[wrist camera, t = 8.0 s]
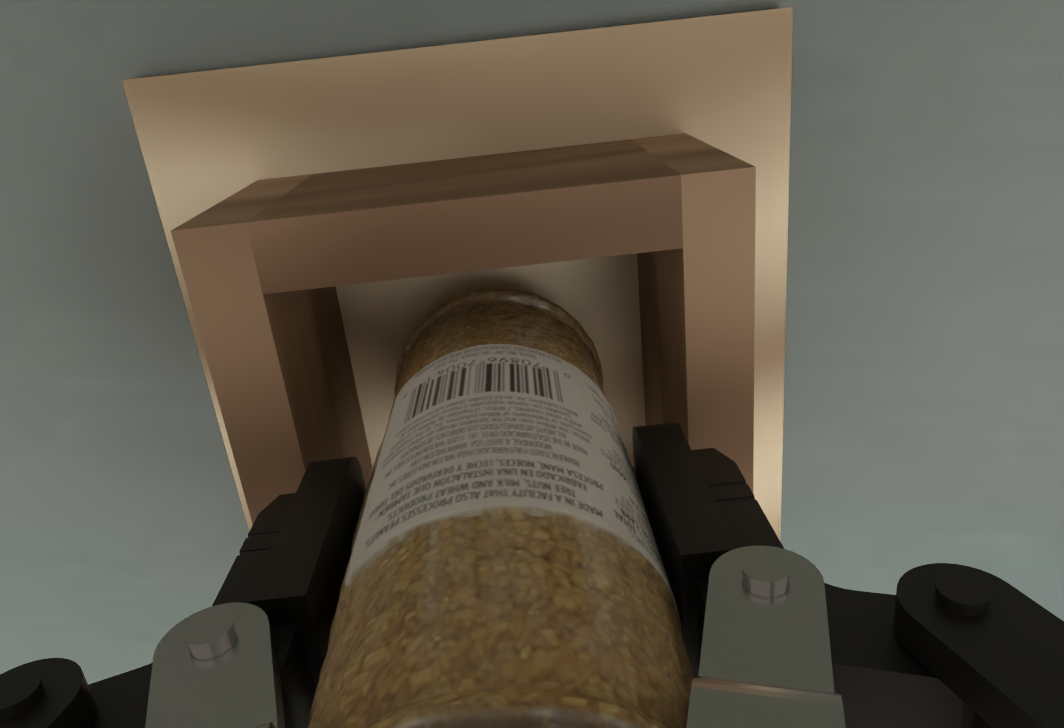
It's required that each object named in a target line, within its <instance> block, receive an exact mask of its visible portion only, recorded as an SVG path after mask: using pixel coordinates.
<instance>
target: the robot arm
mask: <svg viewBox="0 0 1064 728" xmlns="http://www.w3.org/2000/svg"><path fill="white" fill-rule="evenodd" d="M632 440H633V458H634V474H635V477H636V480H637V483H638V487H639V490H640V493H641V497H642V500H643V503H644V506H645V509H646V512H647V516H648V519H649V522H650V525H651V528H652V532H653V535H654V538H655V541H656V544H657V547H658V550H659V553H660V556H661V559H662V562H663V565H664V568H665V571H666V574H667V577H668V580H669V583H670V586H671V589H672V592H673V595H674V598H675V602H676V606H677V609H678V613H679V617H680V622H681V628H682V639H683V643H684V646H685V649H686V652H687V655H688V658H689V661H690V664H691V666H692V669H693V672H694V676H693V680H692V685H691V692H690V701H689V709H688V718H687V727H686V728H1064V621H1062V620H1061V619H1059V618H1058V617H1056V616H1055V615H1053V614H1052V613H1050V612H1049V611H1048V610H1046V609H1045V608H1043V607H1042V606H1040V605H1039V604H1037V603H1036V602H1034V601H1033V600H1032V599H1030V598H1029V597H1027V596H1026V595H1024V594H1023V593H1021V592H1020V591H1019V590H1017V589H1016V588H1014V587H1013V586H1011V585H1010V584H1008V583H1007V582H1005V581H1003V580H1002V579H1000V578H998V577H996V576H994V575H992V574H990V573H987V572H985V571H982V570H979V569H976V568H972V567H968V566H963V565H958V564H948V563H935V564H927V565H922V566H918V567H916V568H913V569H911V570H909V571H908V572H906V573H905V574H904V575H903V576H902V577H901V578H900V580H899V582H898V584H897V592H896V595H889V594H880V593H871V592H862V591H854V590H848V589H843V588H839V587H835V586H832V585H829V584H826V583H824V580H823V577H822V575H821V573H820V571H819V570H818V569H817V568H816V566H815V565H814V564H812V563H811V562H810V561H809V560H807V559H806V558H804V557H803V556H801V555H799V554H797V553H794V552H792V551H789V550H786V549H784V547H783V545H782V544H781V542H780V540H779V538H778V537H777V535H776V533H775V531H774V530H773V528H772V526H771V524H770V522H769V521H768V519H767V517H766V515H765V514H764V512H763V510H762V508H761V507H760V505H759V503H758V501H757V500H755V497H754V494H753V492H752V491H751V489H750V487H749V485H748V484H746V480H745V478H744V477H743V475H742V473H741V471H740V469H739V468H738V466H737V464H736V462H734V461H733V460H731V459H730V458H728V457H727V456H725V455H724V454H722V453H721V452H719V451H718V450H716V449H715V448H707V449H698V450H691V448H690V446H689V444H688V442H687V440H686V438H685V436H684V433H683V431H682V429H681V427H680V425H679V423H678V422H673V423H664V424H655V425H646V426H637V427H633V432H632ZM365 492H366V487H365V482H364V478H363V473H362V469H361V465H360V463H359V460H358V459H357V458H356V457H348V458H339V459H330V460H320V461H312V462H310V463H309V465H308V467H307V469H306V471H305V473H304V476H303V478H302V480H301V482H300V485H299V487H298V489H297V492H296V493H290V494H280V495H279V496H278V497H277V498H276V499H274V500H273V501H272V502H271V503H270V504H269V505H268V506H267V507H265V508H264V509H263V510H262V511H261V512H260V513H259V514H258V516H257V518H256V520H255V522H254V524H253V526H252V528H251V530H250V532H249V533H248V538H246V539H245V541H244V543H243V545H242V547H241V549H240V555H239V556H237V557H236V559H235V561H234V563H233V565H232V567H231V569H230V571H229V573H228V575H227V577H226V579H225V581H224V583H223V585H222V587H221V589H220V591H219V593H218V595H217V597H216V599H215V601H214V603H213V605H212V607H209V608H206V609H203V610H201V611H199V612H197V613H194V614H192V615H191V616H189V617H187V618H185V619H184V620H182V621H181V622H179V623H178V624H176V625H175V626H174V627H173V628H172V629H171V630H169V631H168V632H167V634H166V635H165V636H164V637H163V638H162V639H161V641H160V642H159V644H158V645H157V647H156V649H155V652H154V656H153V663H151V664H148V665H146V666H143V667H140V668H138V669H135V670H132V671H129V672H126V673H123V674H120V675H116V676H113V677H110V678H107V679H104V680H101V681H98V682H95V683H92V684H89V685H88V684H87V681H86V679H85V677H84V674H83V672H82V670H81V668H80V666H79V665H78V664H77V663H76V662H73V661H71V660H68V659H64V658H49V659H42V660H37V661H33V662H30V663H26V664H23V665H21V666H18V667H16V668H13V669H11V670H9V671H7V672H5V673H3V674H1V675H0V728H308V726H309V714H310V710H311V707H312V703H313V700H314V695H315V691H316V688H317V685H318V682H319V677H320V671H321V668H322V665H323V663H324V660H325V658H326V654H327V651H328V642H329V635H330V628H331V625H332V622H333V619H334V616H335V613H336V609H337V604H338V601H339V596H340V589H341V586H342V583H343V580H344V577H345V572H346V568H347V566H348V563H349V560H350V556H351V548H352V540H353V536H354V532H355V529H356V525H357V522H358V519H359V515H360V511H361V508H362V504H363V500H364V496H365Z"/></svg>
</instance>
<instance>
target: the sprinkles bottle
mask: <svg viewBox="0 0 1064 728" xmlns="http://www.w3.org/2000/svg"><path fill="white" fill-rule="evenodd" d="M693 676H694V672H693V669H692V666H691V664H690V661H689V658H688V655H687V652H686V649H685V646H684V643H683V639H682V628H681V622H680V617H679V613H678V609H677V606H676V602H675V598H674V595H673V592H672V589H671V586H670V583H669V580H668V577H667V574H666V571H665V568H664V565H663V562H662V559H661V556H660V553H659V550H658V547H657V544H656V541H655V538H654V535H653V532H652V528H651V525H650V522H649V519H648V516H647V512H646V509H645V506H644V503H643V500H642V497H641V493H640V490H639V487H638V483H637V480H636V477H635V474H634V471H633V468H632V465H631V462H630V459H629V456H628V453H627V450H626V448H625V444H624V441H623V438H622V435H621V432H620V429H619V425H618V422H617V420H616V417H615V415H614V412H613V410H612V408H611V406H610V404H609V403H608V401H607V399H606V396H605V394H604V391H603V372H602V366H601V362H600V359H599V356H598V352H597V350H596V347H595V345H594V343H593V341H592V339H591V338H590V337H589V336H588V334H587V333H586V332H585V330H584V329H583V327H582V326H581V325H580V323H579V322H578V321H577V320H576V319H575V318H574V317H573V316H571V315H570V314H569V313H568V312H567V311H566V310H564V309H563V308H561V307H560V306H558V305H556V304H554V303H552V302H551V301H549V300H548V299H546V298H543V297H541V296H538V295H536V294H534V293H530V292H524V291H516V290H511V289H498V290H480V291H475V292H470V293H468V294H466V295H463V296H460V297H457V298H454V299H452V300H450V301H448V302H446V303H444V304H442V305H441V306H439V307H438V308H437V309H436V310H435V311H433V312H432V313H431V314H430V315H429V316H428V317H427V318H426V319H425V320H424V321H422V322H421V323H419V324H418V325H417V326H416V328H415V330H414V331H413V333H412V335H411V336H410V338H409V339H408V341H407V342H406V344H405V346H404V348H403V350H402V352H401V354H400V357H399V360H398V363H397V370H396V383H395V397H394V401H393V405H392V408H391V412H390V416H389V420H388V424H387V428H386V431H385V434H384V437H383V441H382V443H381V444H380V446H379V448H378V451H377V455H376V458H375V461H374V465H373V468H372V472H371V475H370V479H369V482H368V485H367V489H366V492H365V496H364V500H363V504H362V508H361V511H360V515H359V519H358V522H357V525H356V529H355V532H354V536H353V540H352V548H351V556H350V560H349V563H348V566H347V568H346V572H345V577H344V580H343V583H342V586H341V589H340V596H339V601H338V604H337V609H336V613H335V616H334V619H333V622H332V625H331V628H330V635H329V642H328V651H327V654H326V658H325V660H324V663H323V665H322V668H321V671H320V677H319V682H318V685H317V688H316V691H315V695H314V700H313V703H312V707H311V710H310V714H309V726H308V728H686V727H687V718H688V709H689V701H690V692H691V685H692V680H693Z"/></svg>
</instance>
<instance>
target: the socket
mask: <svg viewBox="0 0 1064 728" xmlns="http://www.w3.org/2000/svg"><path fill="white" fill-rule="evenodd" d="M792 34H793V7H788V8H779V9H770V10H760V11H751V12H742V13H733V14H724V15H715V16H705V17H696V18H687V19H678V20H669V21H659V22H650V23H641V24H632V25H623V26H614V27H604V28H595V29H586V30H577V31H568V32H558V33H549V34H540V35H531V36H522V37H513V38H503V39H494V40H485V41H476V42H467V43H457V44H448V45H439V46H430V47H421V48H412V49H402V50H393V51H384V52H375V53H366V54H356V55H347V56H338V57H329V58H320V59H311V60H301V61H292V62H283V63H274V64H265V65H255V66H246V67H237V68H228V69H219V70H210V71H200V72H191V73H182V74H173V75H164V76H154V77H145V78H136V79H127V80H122V83H123V87H124V90H125V94H126V97H127V101H128V104H129V108H130V111H131V115H132V118H133V122H134V126H135V129H136V133H137V136H138V140H139V143H140V147H141V150H142V154H143V157H144V161H145V164H146V168H147V171H148V175H149V179H150V182H151V186H152V189H153V193H154V196H155V200H156V203H157V207H158V210H159V214H160V217H161V221H162V225H163V228H164V232H165V235H166V239H167V242H168V246H169V249H170V253H171V256H172V260H173V263H174V267H175V271H176V274H177V278H178V281H179V285H180V288H181V292H182V295H183V299H184V302H185V306H186V309H187V313H188V317H189V320H190V324H191V327H192V331H193V334H194V338H195V341H196V345H197V348H198V352H199V355H200V359H201V363H202V366H203V370H204V373H205V377H206V380H207V384H208V387H209V391H210V394H211V398H212V401H213V405H214V409H215V412H216V416H217V419H218V423H219V426H220V430H221V433H222V437H223V440H224V444H225V447H226V451H227V454H228V458H229V462H230V465H231V469H232V472H233V476H234V479H235V483H236V486H237V490H238V493H239V497H240V500H241V504H242V508H243V511H244V515H245V518H246V522H247V525H248V529H249V532H250V530H251V528H252V526H253V524H254V522H255V520H256V518H257V516H258V514H259V513H260V512H261V511H262V510H263V509H264V508H265V507H267V506H268V505H269V504H270V503H271V502H272V501H273V500H274V499H276V498H277V497H278V496H279V495H280V494H290V493H296V492H297V489H298V487H299V485H300V482H301V480H302V478H303V476H304V473H305V471H306V469H307V467H308V465H309V463H310V462H312V461H320V460H330V459H339V458H348V457H356V458H357V459H358V460H359V463H360V465H361V469H362V473H363V478H364V482H365V487H366V489H367V485H368V482H369V479H370V475H371V472H372V468H373V465H374V461H375V458H376V455H377V451H378V448H379V446H380V444H381V443H382V441H383V437H384V434H385V431H386V428H387V424H388V420H389V416H390V412H391V408H392V405H393V401H394V397H395V383H396V370H397V363H398V360H399V357H400V354H401V352H402V350H403V348H404V346H405V344H406V342H407V341H408V339H409V338H410V336H411V335H412V333H413V331H414V330H415V328H416V326H417V325H418V324H419V323H421V322H422V321H424V320H425V319H426V318H427V317H428V316H429V315H430V314H431V313H432V312H433V311H435V310H436V309H437V308H438V307H439V306H441V305H442V304H444V303H446V302H448V301H450V300H452V299H454V298H457V297H460V296H463V295H466V294H468V293H470V292H475V291H480V290H498V289H511V290H516V291H524V292H530V293H534V294H536V295H538V296H541V297H543V298H546V299H548V300H549V301H551V302H552V303H554V304H556V305H558V306H560V307H561V308H563V309H564V310H566V311H567V312H568V313H569V314H570V315H571V316H573V317H574V318H575V319H576V320H577V321H578V322H579V323H580V325H581V326H582V327H583V329H584V330H585V332H586V333H587V334H588V336H589V337H590V338H591V339H592V341H593V343H594V345H595V347H596V350H597V352H598V356H599V359H600V362H601V366H602V372H603V391H604V394H605V396H606V399H607V401H608V403H609V404H610V406H611V408H612V410H613V412H614V415H615V417H616V420H617V422H618V425H619V429H620V432H621V435H622V438H623V441H624V444H625V448H626V450H627V453H628V456H629V459H630V462H631V465H632V468H633V471H634V458H633V440H632V432H633V427H637V426H646V425H655V424H664V423H673V422H678V423H679V425H680V427H681V429H682V431H683V433H684V436H685V438H686V440H687V442H688V444H689V446H690V448H691V450H698V449H707V448H715V449H716V450H718V451H719V452H721V453H722V454H724V455H725V456H727V457H728V458H730V459H731V460H733V461H734V462H736V464H737V466H738V468H739V469H740V471H741V473H742V475H743V477H744V478H745V480H746V484H748V485H749V487H750V489H751V491H752V492H753V494H754V497H755V500H757V501H758V503H759V505H760V507H761V508H762V510H763V512H764V514H765V515H766V517H767V519H768V521H769V522H770V524H771V526H772V528H773V530H774V531H775V533H776V535H777V537H778V538H779V540H780V533H781V492H782V450H783V408H784V367H785V325H786V283H787V242H788V200H789V159H790V117H791V75H792Z"/></svg>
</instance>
